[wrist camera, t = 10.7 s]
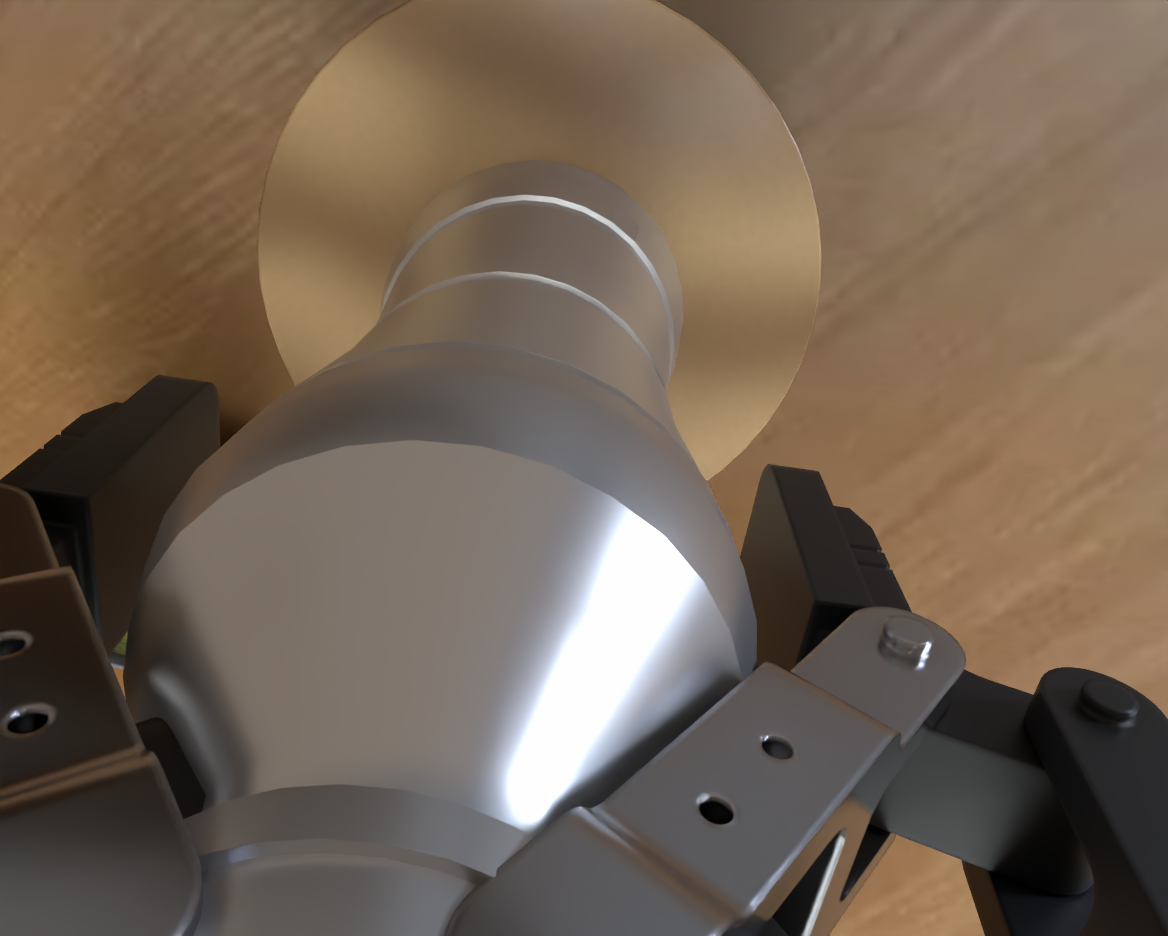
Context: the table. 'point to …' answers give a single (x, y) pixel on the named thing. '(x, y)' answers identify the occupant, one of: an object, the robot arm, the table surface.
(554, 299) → the silver metal bottle
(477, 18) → the crock
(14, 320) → the table surface
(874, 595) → the robot arm
